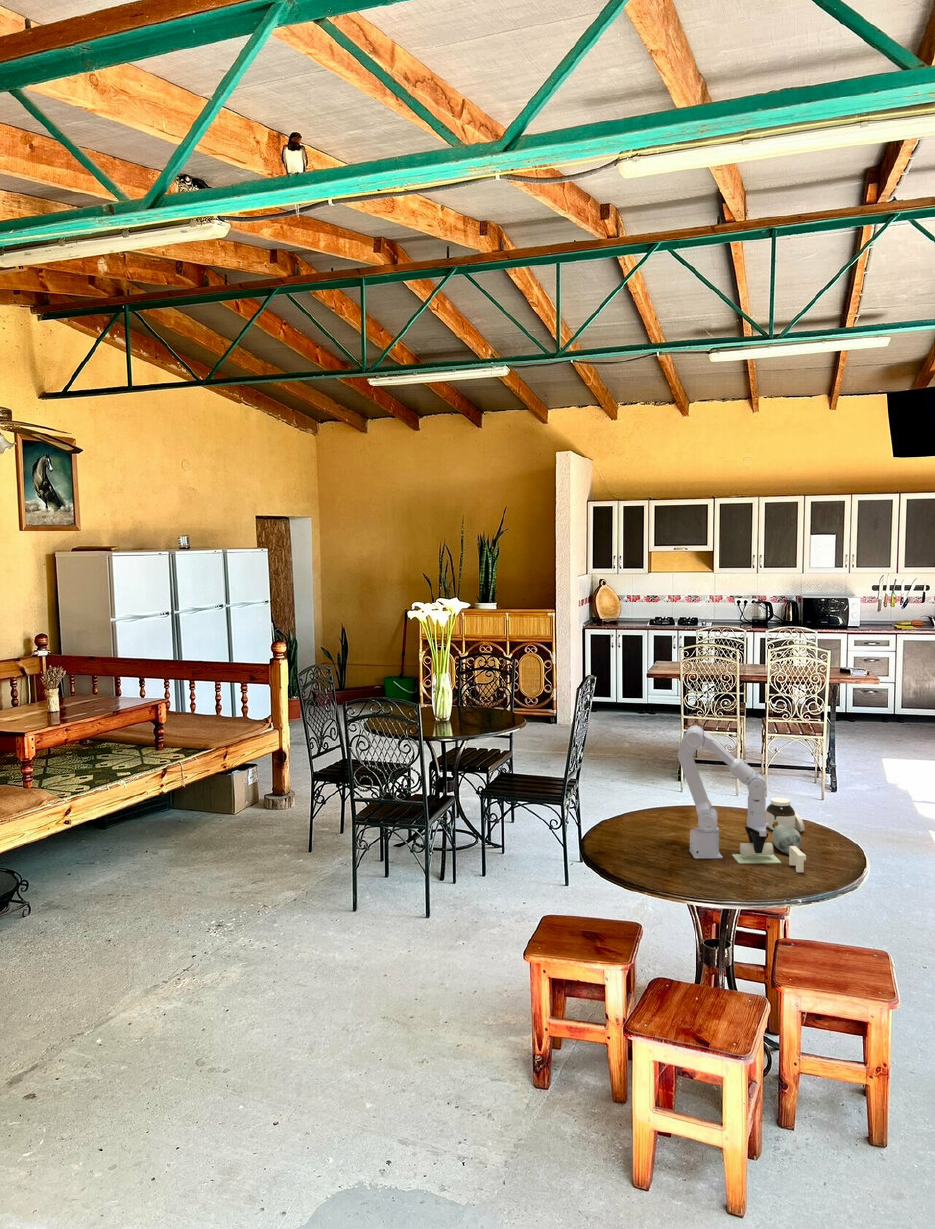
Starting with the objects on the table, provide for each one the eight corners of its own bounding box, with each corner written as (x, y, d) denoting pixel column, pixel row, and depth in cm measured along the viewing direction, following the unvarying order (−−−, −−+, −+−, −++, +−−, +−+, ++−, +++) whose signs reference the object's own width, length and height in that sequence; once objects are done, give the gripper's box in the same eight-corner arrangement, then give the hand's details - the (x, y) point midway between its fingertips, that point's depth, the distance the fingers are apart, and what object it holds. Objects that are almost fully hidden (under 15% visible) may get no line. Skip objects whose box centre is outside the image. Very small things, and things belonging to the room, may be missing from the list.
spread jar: (762, 828, 324) (762, 798, 323) (783, 824, 329) (784, 793, 328) (787, 837, 313) (788, 806, 312) (809, 832, 318) (810, 801, 317)
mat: (738, 863, 288) (738, 862, 288) (731, 855, 296) (731, 854, 296) (781, 863, 288) (781, 862, 288) (773, 854, 296) (773, 853, 296)
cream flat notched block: (798, 874, 277) (798, 855, 276) (788, 864, 286) (788, 846, 285) (805, 874, 277) (806, 855, 276) (795, 864, 286) (796, 846, 285)
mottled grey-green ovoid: (809, 849, 291) (794, 821, 294) (783, 861, 293) (768, 833, 295) (804, 845, 304) (790, 819, 307) (779, 857, 306) (765, 830, 308)
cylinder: (743, 857, 290) (743, 845, 290) (739, 853, 294) (739, 841, 294) (773, 856, 290) (773, 845, 289) (769, 852, 294) (769, 841, 293)
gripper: (775, 817, 283) (775, 858, 284) (761, 804, 298) (761, 843, 299) (754, 817, 284) (753, 858, 285) (741, 804, 298) (740, 843, 299)
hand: (756, 850), depth 292 cm, fingers closed on cylinder, 4 cm apart
